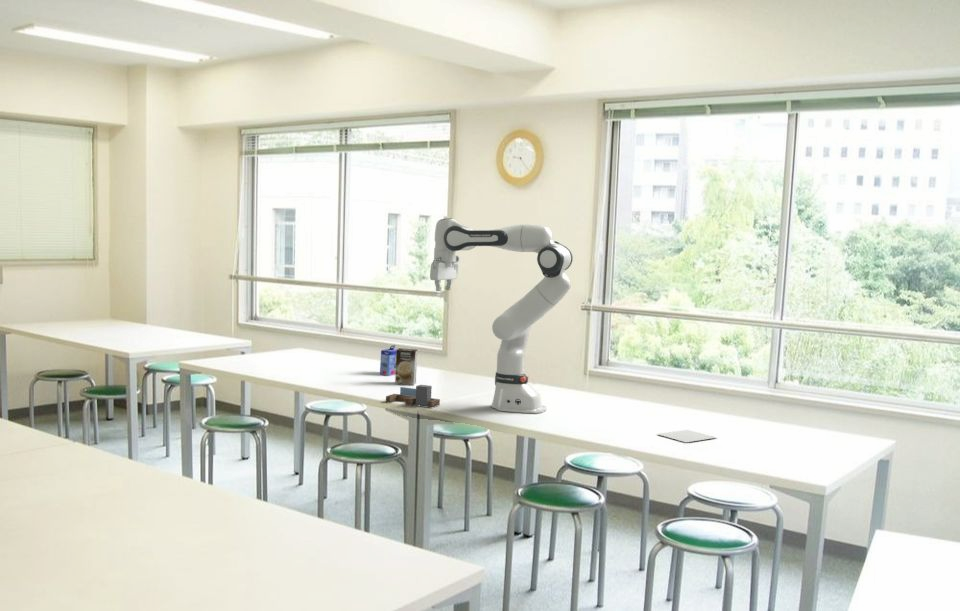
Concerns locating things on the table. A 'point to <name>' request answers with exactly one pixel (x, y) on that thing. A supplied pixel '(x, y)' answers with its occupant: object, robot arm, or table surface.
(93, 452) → the table surface
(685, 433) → the paper stack
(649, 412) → the table surface
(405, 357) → the coffee box
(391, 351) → the ink cartridge box
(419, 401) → the plug
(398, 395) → the brown frame
